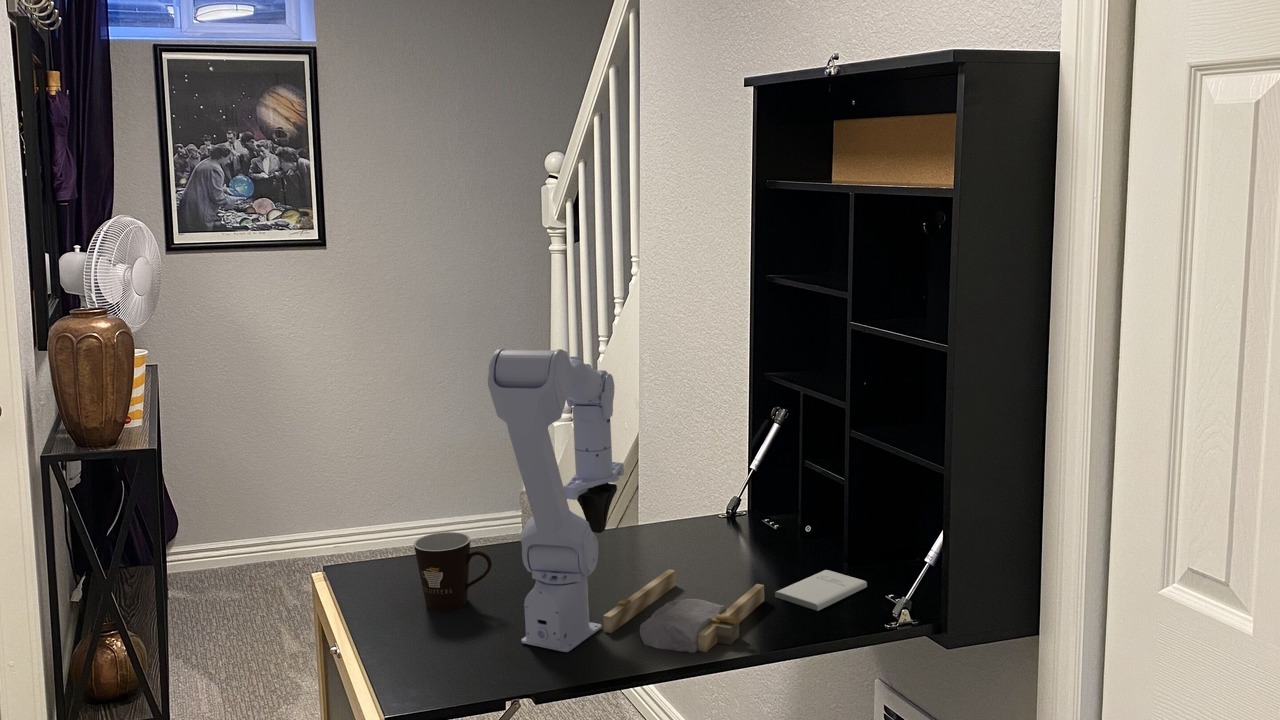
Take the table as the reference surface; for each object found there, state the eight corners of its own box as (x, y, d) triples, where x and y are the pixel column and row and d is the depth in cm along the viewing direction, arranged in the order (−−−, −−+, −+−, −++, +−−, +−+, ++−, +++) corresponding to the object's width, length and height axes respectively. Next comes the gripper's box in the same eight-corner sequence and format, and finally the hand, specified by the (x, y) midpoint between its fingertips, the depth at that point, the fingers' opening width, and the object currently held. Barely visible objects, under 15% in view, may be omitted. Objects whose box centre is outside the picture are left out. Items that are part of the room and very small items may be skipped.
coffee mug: (407, 604, 182) (402, 543, 180) (451, 587, 188) (447, 528, 186) (454, 623, 174) (449, 559, 172) (498, 605, 180) (494, 543, 178)
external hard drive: (775, 600, 179) (824, 577, 187) (817, 614, 173) (867, 590, 181) (774, 590, 179) (824, 568, 187) (817, 604, 173) (867, 580, 181)
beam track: (723, 655, 159) (722, 631, 159) (604, 631, 168) (602, 609, 168) (780, 603, 176) (779, 581, 176) (668, 584, 186) (668, 563, 185)
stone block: (636, 658, 164) (699, 655, 159) (629, 625, 164) (692, 621, 159) (673, 628, 175) (733, 625, 170) (666, 597, 174) (727, 593, 170)
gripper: (589, 461, 171) (594, 549, 174) (638, 437, 184) (642, 520, 186) (550, 456, 175) (554, 542, 177) (600, 433, 187) (604, 515, 190)
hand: (597, 531), depth 182 cm, fingers closed
